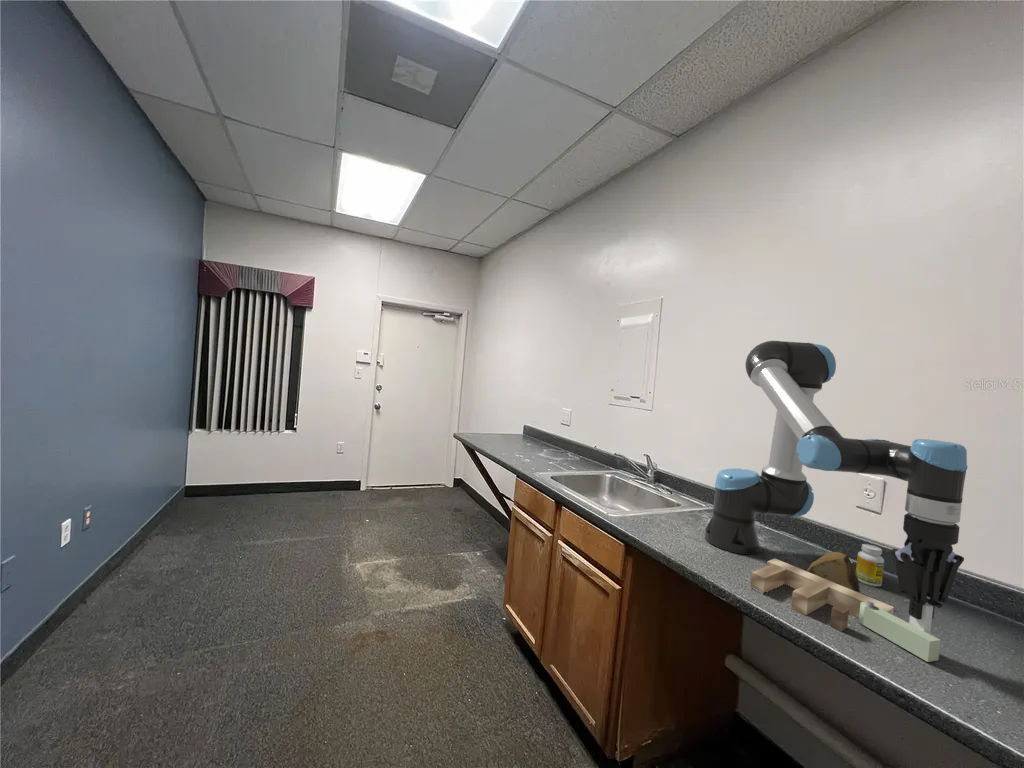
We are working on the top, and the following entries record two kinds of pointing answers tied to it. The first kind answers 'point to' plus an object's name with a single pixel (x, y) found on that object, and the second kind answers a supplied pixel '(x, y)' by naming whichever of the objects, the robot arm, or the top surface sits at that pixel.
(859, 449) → the robot arm
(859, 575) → the supplement bottle
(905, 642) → the hinged leg
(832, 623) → the stool frame
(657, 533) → the top surface
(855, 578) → the rock
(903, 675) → the top surface
